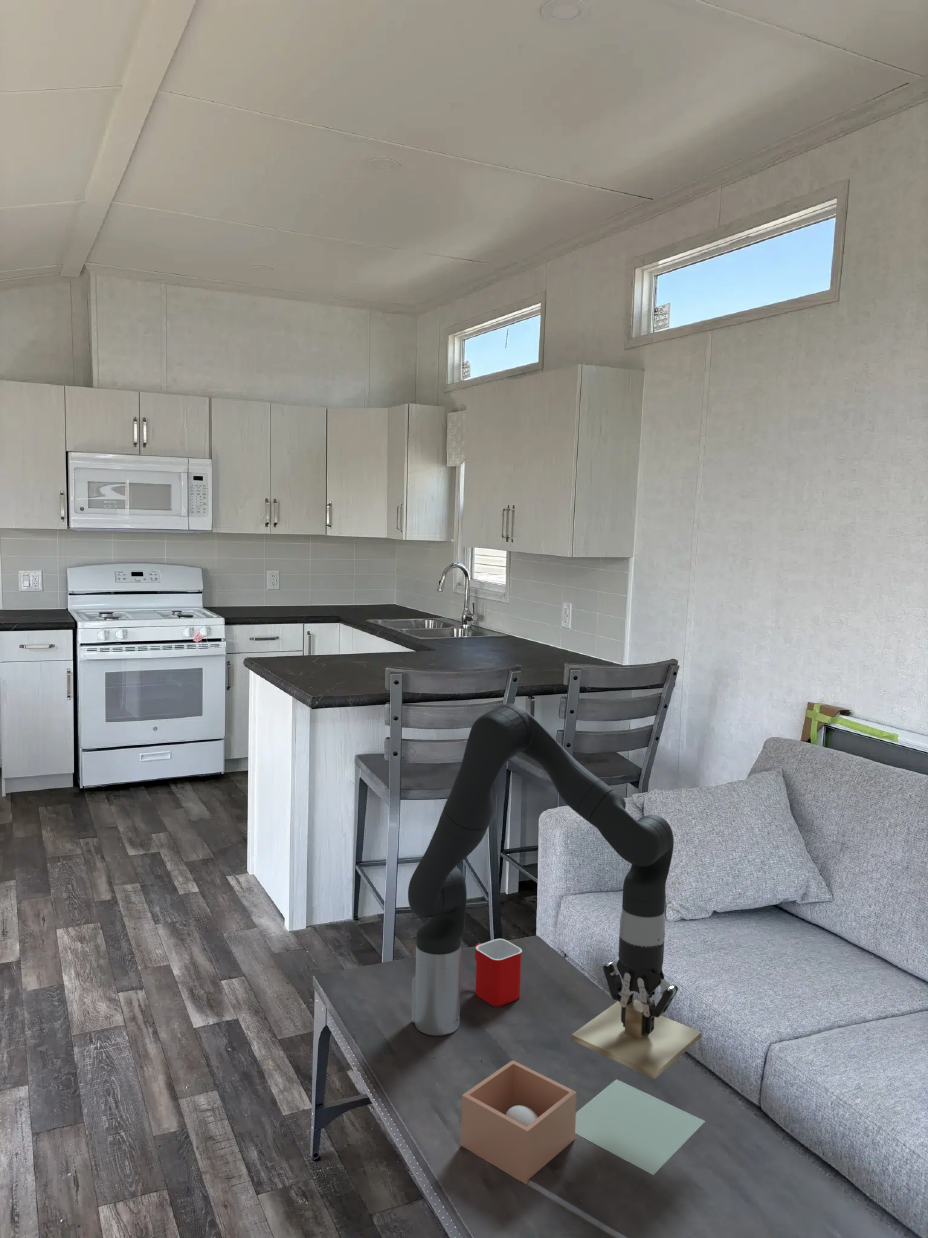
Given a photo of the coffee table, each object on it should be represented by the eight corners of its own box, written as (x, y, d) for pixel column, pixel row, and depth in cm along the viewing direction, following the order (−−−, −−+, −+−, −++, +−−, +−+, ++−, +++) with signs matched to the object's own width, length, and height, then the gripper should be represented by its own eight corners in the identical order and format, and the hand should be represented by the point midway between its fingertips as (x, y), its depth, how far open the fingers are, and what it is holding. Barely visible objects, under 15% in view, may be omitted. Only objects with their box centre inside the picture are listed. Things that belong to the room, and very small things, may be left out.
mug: (524, 997, 205) (525, 951, 203) (495, 1009, 200) (496, 961, 198) (489, 975, 214) (490, 931, 213) (461, 986, 209) (461, 940, 208)
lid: (571, 1040, 159) (572, 1007, 159) (620, 1004, 172) (622, 973, 171) (654, 1079, 149) (656, 1044, 148) (701, 1037, 161) (703, 1005, 160)
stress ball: (543, 1169, 156) (564, 1132, 157) (512, 1158, 152) (533, 1120, 153) (518, 1141, 162) (538, 1105, 163) (487, 1129, 158) (507, 1093, 159)
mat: (560, 1129, 161) (560, 1125, 161) (616, 1082, 175) (616, 1079, 174) (653, 1178, 149) (653, 1175, 149) (705, 1124, 163) (705, 1121, 163)
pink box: (461, 1145, 156) (462, 1095, 155) (511, 1107, 167) (512, 1060, 166) (526, 1184, 147) (527, 1131, 146) (574, 1142, 158) (576, 1092, 157)
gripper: (594, 928, 160) (590, 1023, 162) (668, 955, 151) (663, 1056, 153) (617, 914, 165) (613, 1007, 167) (690, 940, 156) (684, 1037, 158)
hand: (637, 1029), depth 160 cm, fingers closed on lid, 3 cm apart
